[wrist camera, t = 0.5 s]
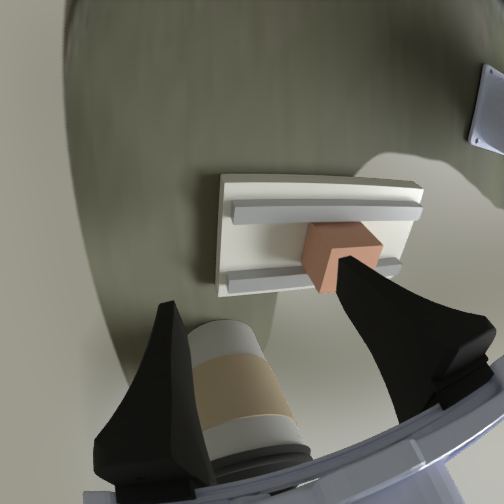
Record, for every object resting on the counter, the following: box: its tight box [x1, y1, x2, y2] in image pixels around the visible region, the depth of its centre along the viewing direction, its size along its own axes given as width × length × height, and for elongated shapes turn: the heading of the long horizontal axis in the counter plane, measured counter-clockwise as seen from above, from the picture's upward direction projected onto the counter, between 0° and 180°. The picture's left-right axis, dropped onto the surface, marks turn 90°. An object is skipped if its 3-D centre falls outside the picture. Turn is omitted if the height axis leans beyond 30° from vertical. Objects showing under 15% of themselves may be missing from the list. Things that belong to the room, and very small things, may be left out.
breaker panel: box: [215, 174, 424, 297], centre depth 24 cm, size 16×9×2 cm, turn 85°
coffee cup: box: [187, 320, 313, 496], centre depth 24 cm, size 9×9×15 cm
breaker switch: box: [301, 221, 383, 294], centre depth 22 cm, size 4×4×4 cm
